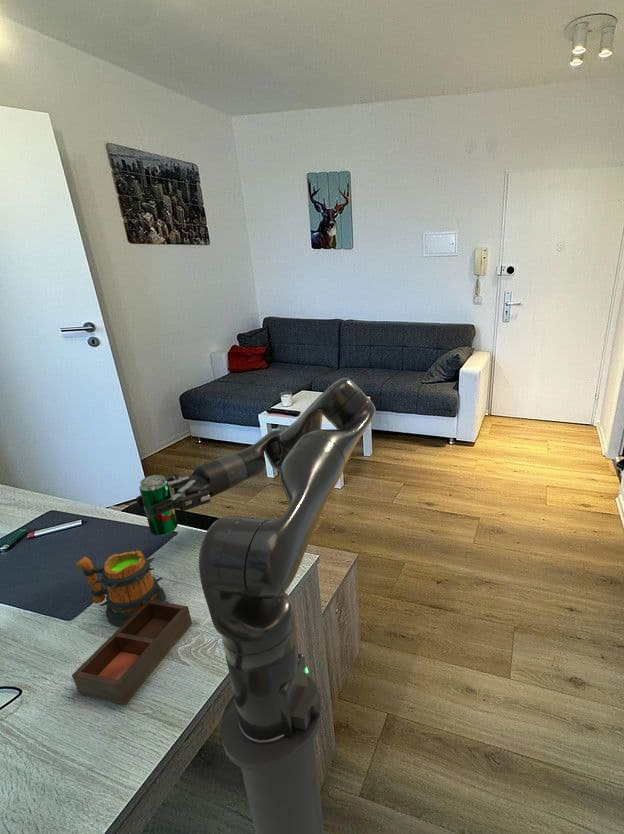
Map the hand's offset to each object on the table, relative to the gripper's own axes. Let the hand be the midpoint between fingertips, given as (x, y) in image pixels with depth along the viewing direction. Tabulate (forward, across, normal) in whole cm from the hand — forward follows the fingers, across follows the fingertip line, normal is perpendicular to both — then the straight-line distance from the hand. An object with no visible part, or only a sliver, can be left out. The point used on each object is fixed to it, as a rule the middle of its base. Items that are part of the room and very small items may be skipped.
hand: (144, 507), depth 86 cm
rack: (+13, -20, -15) cm, 28 cm away
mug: (+9, -8, -14) cm, 19 cm away
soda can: (-3, 0, -7) cm, 8 cm away
